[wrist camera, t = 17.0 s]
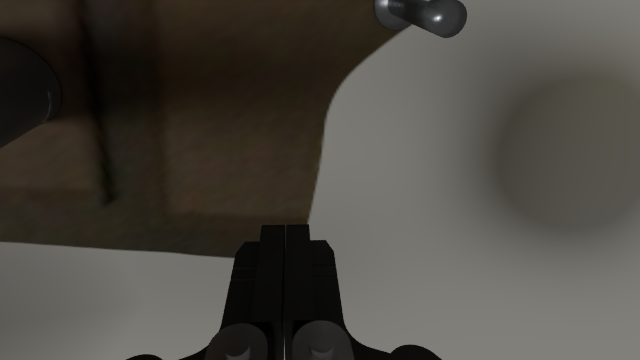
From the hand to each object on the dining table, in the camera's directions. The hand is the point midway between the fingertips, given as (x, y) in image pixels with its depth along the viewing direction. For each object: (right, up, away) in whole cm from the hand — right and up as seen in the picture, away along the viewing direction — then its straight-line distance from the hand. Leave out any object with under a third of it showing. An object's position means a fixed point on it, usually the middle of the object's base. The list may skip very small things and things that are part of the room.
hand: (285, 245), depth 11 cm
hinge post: (+9, +20, +25) cm, 33 cm away
